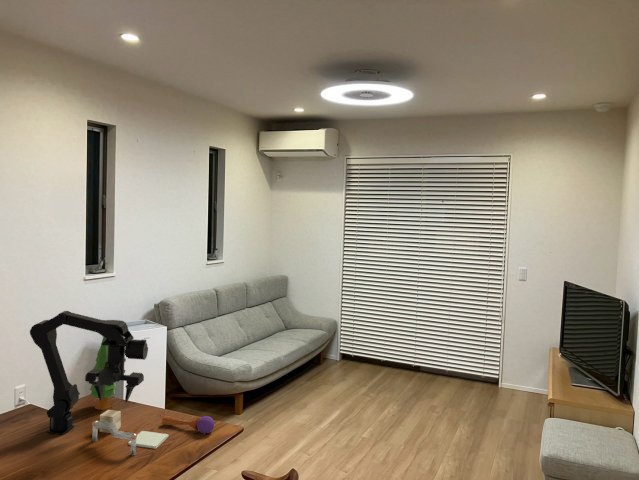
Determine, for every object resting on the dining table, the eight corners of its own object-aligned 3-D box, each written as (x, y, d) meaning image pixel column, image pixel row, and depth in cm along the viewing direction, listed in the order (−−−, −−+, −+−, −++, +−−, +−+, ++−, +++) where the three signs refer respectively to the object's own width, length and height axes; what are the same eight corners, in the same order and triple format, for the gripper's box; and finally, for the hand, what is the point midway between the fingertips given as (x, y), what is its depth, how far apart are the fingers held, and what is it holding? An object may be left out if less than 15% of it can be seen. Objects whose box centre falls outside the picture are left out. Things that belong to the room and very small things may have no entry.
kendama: (169, 410, 190) (217, 415, 185) (168, 427, 189) (216, 432, 184) (160, 413, 185) (209, 418, 179) (159, 430, 184) (208, 436, 178)
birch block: (99, 431, 179) (99, 415, 178) (107, 425, 184) (108, 409, 183) (112, 433, 178) (112, 416, 178) (120, 427, 183) (120, 411, 182)
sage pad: (128, 444, 170) (128, 442, 170) (142, 432, 179) (142, 430, 179) (155, 448, 169) (155, 446, 169) (168, 436, 178) (168, 434, 178)
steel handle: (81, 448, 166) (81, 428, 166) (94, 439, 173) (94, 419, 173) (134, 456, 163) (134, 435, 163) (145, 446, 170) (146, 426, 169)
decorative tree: (98, 413, 193) (99, 336, 191) (84, 407, 198) (85, 331, 196) (120, 405, 201) (122, 331, 199) (106, 399, 207) (107, 327, 204)
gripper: (77, 362, 170) (75, 407, 171) (132, 367, 169) (130, 412, 170) (93, 352, 181) (91, 395, 182) (145, 357, 180) (143, 399, 182)
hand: (113, 400), depth 179 cm, fingers open, 9 cm apart
